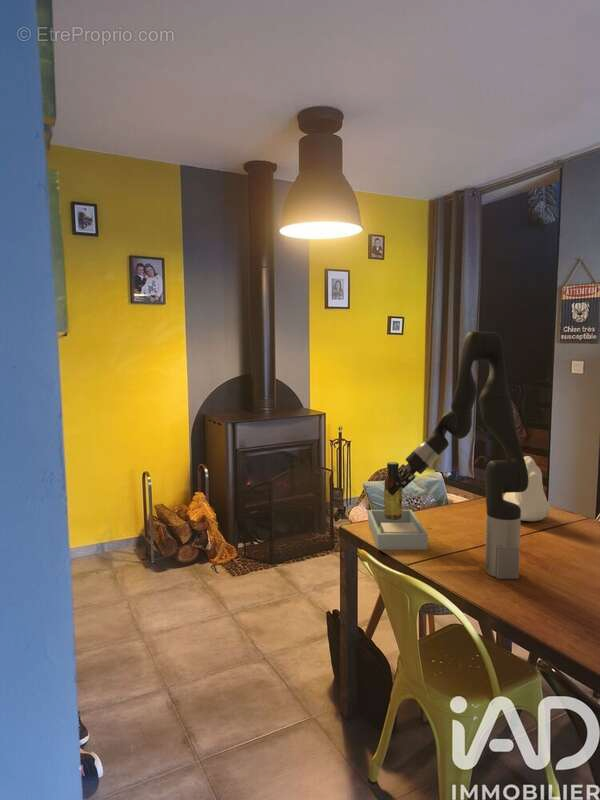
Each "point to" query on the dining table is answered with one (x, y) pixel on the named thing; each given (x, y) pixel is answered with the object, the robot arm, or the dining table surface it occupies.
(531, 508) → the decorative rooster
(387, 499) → the sauce bottle
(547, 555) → the dining table surface
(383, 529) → the tan rectangular block
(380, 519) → the tote
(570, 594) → the dining table surface
